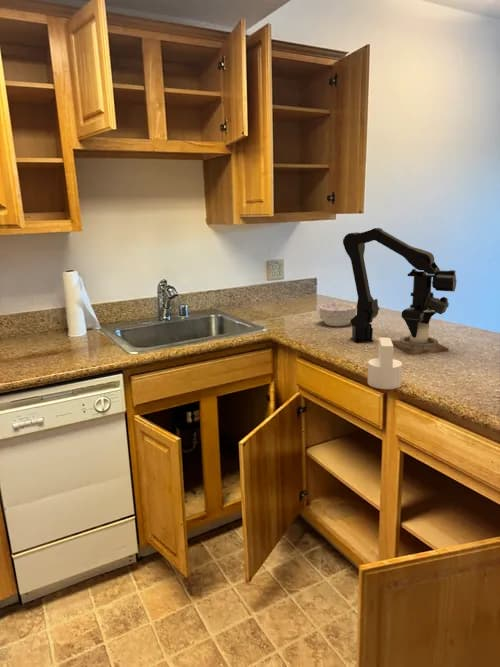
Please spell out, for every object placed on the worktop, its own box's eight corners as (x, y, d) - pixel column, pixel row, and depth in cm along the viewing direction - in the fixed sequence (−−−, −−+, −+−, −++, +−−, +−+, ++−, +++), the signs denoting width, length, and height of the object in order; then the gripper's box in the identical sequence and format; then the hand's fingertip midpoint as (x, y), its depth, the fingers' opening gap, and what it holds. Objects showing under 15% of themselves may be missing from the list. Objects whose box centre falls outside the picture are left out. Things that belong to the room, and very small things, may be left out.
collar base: (409, 354, 157) (410, 347, 157) (390, 343, 171) (390, 336, 170) (448, 351, 160) (449, 344, 159) (426, 340, 173) (426, 334, 172)
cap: (405, 344, 165) (406, 325, 163) (414, 341, 169) (415, 322, 167) (422, 347, 161) (423, 327, 159) (431, 344, 165) (432, 324, 163)
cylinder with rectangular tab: (403, 389, 127) (405, 346, 124) (368, 388, 128) (370, 345, 126) (398, 378, 135) (401, 337, 133) (366, 377, 137) (367, 337, 134)
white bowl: (340, 330, 193) (340, 311, 191) (312, 324, 204) (312, 306, 202) (362, 323, 202) (363, 305, 200) (334, 318, 213) (334, 301, 211)
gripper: (436, 295, 148) (433, 344, 152) (455, 287, 162) (452, 332, 166) (402, 293, 155) (399, 339, 159) (423, 285, 169) (420, 328, 173)
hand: (419, 334), depth 164 cm, fingers open, 9 cm apart
